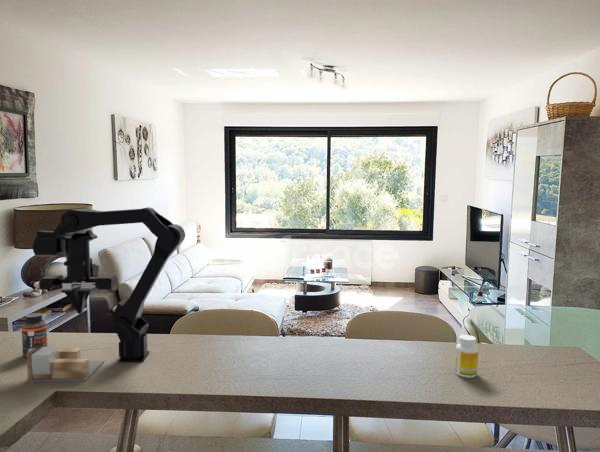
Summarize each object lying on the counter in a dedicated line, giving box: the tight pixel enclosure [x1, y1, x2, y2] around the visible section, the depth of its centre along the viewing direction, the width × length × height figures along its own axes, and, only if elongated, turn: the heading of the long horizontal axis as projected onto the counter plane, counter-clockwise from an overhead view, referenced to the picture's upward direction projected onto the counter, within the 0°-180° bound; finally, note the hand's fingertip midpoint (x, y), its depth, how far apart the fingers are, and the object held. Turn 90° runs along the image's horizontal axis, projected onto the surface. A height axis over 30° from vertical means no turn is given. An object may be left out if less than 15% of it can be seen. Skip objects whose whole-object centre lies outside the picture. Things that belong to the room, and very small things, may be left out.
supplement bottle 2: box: [454, 334, 479, 379], centre depth 116 cm, size 5×5×10 cm
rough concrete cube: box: [32, 346, 61, 375], centre depth 112 cm, size 4×5×5 cm
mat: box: [26, 360, 105, 383], centre depth 116 cm, size 14×12×1 cm
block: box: [26, 347, 90, 380], centre depth 116 cm, size 14×10×6 cm
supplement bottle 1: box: [21, 312, 48, 358], centre depth 127 cm, size 6×6×11 cm
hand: (80, 313), depth 124 cm, fingers closed
